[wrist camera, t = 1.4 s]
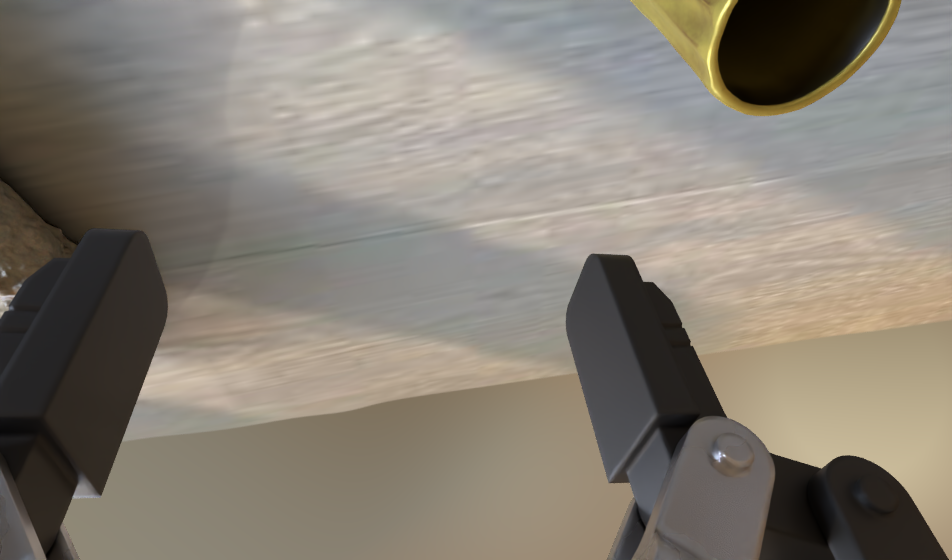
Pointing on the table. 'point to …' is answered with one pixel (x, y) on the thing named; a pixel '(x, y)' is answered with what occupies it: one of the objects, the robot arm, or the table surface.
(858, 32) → the vase
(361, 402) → the table surface
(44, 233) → the long grey stone
